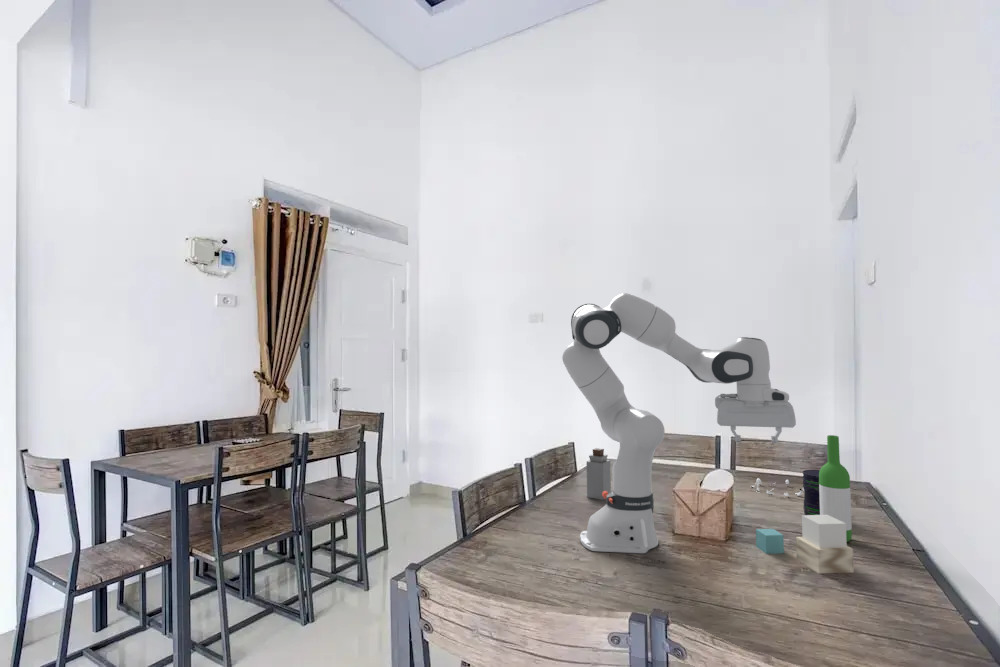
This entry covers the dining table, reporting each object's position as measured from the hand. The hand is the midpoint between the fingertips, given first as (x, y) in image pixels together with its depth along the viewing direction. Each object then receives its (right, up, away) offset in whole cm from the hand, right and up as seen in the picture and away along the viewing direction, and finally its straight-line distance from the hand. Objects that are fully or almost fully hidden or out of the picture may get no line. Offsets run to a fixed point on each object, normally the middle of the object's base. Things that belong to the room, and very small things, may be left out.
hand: (756, 442), depth 148 cm
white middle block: (+11, -23, -14) cm, 29 cm away
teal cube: (+2, -29, -3) cm, 30 cm away
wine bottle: (+26, -29, +5) cm, 39 cm away
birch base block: (+11, -29, -14) cm, 34 cm away
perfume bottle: (-35, -32, +51) cm, 70 cm away
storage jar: (+32, -30, +22) cm, 49 cm away
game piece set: (+37, -31, +56) cm, 74 cm away
